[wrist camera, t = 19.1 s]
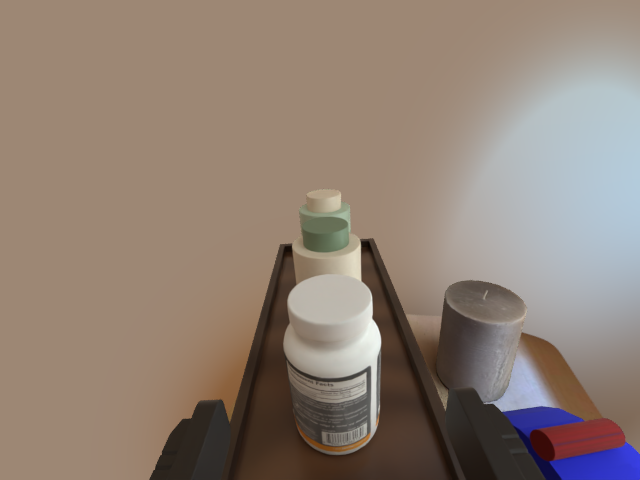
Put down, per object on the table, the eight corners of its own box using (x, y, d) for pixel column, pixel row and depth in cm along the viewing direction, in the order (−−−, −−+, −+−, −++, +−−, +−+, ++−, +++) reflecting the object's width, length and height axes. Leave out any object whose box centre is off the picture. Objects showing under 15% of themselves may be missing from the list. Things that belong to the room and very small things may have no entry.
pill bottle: (321, 371, 24) (311, 262, 20) (391, 400, 21) (396, 280, 17) (278, 433, 20) (255, 309, 16) (359, 480, 17) (356, 344, 13)
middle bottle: (345, 350, 26) (340, 243, 22) (289, 330, 29) (275, 232, 25) (370, 311, 31) (370, 216, 27) (320, 297, 34) (312, 210, 29)
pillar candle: (472, 344, 51) (486, 266, 45) (524, 391, 42) (549, 302, 36) (422, 360, 48) (429, 280, 42) (466, 413, 40) (483, 322, 34)
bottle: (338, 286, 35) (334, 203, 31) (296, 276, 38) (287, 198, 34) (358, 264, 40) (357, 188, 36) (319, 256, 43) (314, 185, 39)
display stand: (450, 678, 22) (497, 535, 14) (258, 684, 22) (194, 547, 14) (373, 342, 53) (373, 238, 45) (293, 346, 53) (279, 244, 45)
